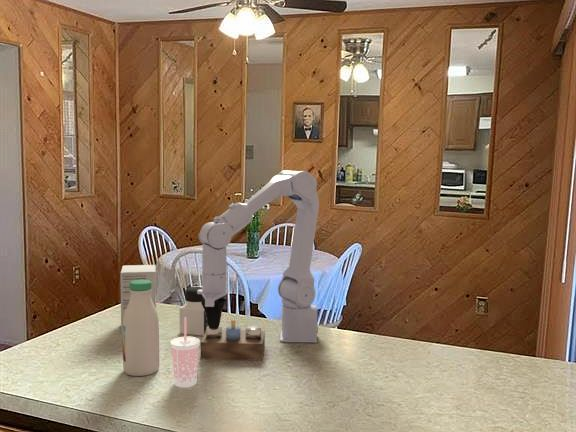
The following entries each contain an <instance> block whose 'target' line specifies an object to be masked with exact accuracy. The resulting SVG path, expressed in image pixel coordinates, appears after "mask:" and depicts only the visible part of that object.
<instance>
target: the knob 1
mask: <svg viewBox="0 0 576 432" xmlns="http://www.w3.org/2000/svg"><path fill="white" fill-rule="evenodd" d="M222 330H223V326H221V325H219V327H218V329H210V328H209V326H208V327H206V337H208V338H210V339H219V337H222Z"/></svg>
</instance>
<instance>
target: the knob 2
mask: <svg viewBox="0 0 576 432" xmlns="http://www.w3.org/2000/svg"><path fill="white" fill-rule="evenodd" d="M245 331H246V336H245V337H246V338H248V339H253V340H258V339H259V338H261V331H262V327H261V326H257V325H251V326H247V327H245Z"/></svg>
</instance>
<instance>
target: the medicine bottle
mask: <svg viewBox="0 0 576 432" xmlns="http://www.w3.org/2000/svg"><path fill="white" fill-rule="evenodd" d="M199 289H202V285H194V286H189V287H188V288H186V289H185V291H184V293H185V294H184V295H185V296H184V297H185V299H184V300H185V301H184V303H185V304H183V305H182V306H180V307H179V334H182V335H184V318H185V317H186V328H187V335H195V336H196V335H197V336H204V335H205V333H206V327H208V326H209V325H208V320H207V316H206V312H205V310H204V308H203V306H202V304H201V301H202V299H204V297H203V296H202V294H197V291H198V290H199Z"/></svg>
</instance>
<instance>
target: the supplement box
mask: <svg viewBox="0 0 576 432" xmlns="http://www.w3.org/2000/svg"><path fill="white" fill-rule="evenodd" d="M119 278H120V280H119V281H120V282H119V283H120V284H119V285H120V331H121V332H120V334H121V335H123V317H124V313H125V310H126V308H127V306H128V304H129V301H130V297H131V293H130V287H129V285H130V282H131V281H134V280H149V281H151V292H150V295H151V299H152V302H153V304H154V306H155V308H156V309H157V293H156V292H157V265H156V264H136V265H135V264H134V265H132V264H131V265H130V264H129V265H127V264H126V265H122V267H121V271H120V277H119Z"/></svg>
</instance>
